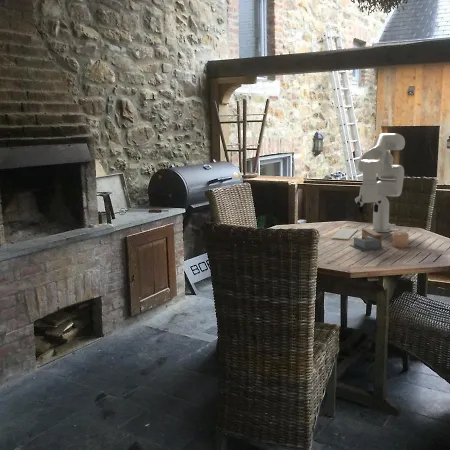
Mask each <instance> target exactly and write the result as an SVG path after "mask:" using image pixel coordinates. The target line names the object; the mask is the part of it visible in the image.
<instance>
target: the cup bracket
mask: <svg viewBox="0 0 450 450" xmlns="http://www.w3.org/2000/svg"><path fill="white" fill-rule="evenodd" d="M349 246H350V247H352V248H355V249H357V250H359V251H361V252H365V251H366V252H368V251H379V250H384V247H381V246H380V240H378V239H376V238H373V237H370V236H366V240H364V239H362V238H360V237H358V236H354V237H353V244H350V245H349Z"/></svg>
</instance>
